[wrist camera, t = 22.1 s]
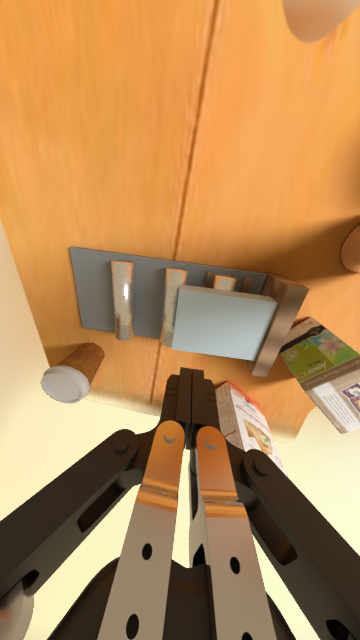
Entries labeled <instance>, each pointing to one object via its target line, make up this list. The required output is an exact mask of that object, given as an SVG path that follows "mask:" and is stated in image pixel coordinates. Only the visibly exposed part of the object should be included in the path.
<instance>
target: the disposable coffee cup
mask: <svg viewBox="0 0 360 640" xmlns="http://www.w3.org/2000/svg"><path fill="white" fill-rule="evenodd" d="M103 358H104V352H103V350H102V349H101V348H100V347H99V346H98V345H96V344H93V343H86V344H83V345H82V346H81V347H80V348H78V349H77V350H76V351H74V352H73V353H72V354H70V355H69V356H68V357H66V358H65V359H64V360H62V361H61V362H60V363H58V364H57V365H56V366H54V367H51V368H49V369H48V370H47V371H45V373H44V376H43V378H42V380H41V386H42V388H43V390H44V391H45V392H46V394H47V395H49V396H50V397H51V398H53V399H55V400H57V401H60V402H63V403H76V402H78V401H80V400H81V399H82V398H84V397H86V396H87V394H88V392H89V388H90V384H91V382H92V380H93V378H94V376H95V374H96V372H97V370H98V368H99V366H100V364H101V362H102V360H103Z"/></svg>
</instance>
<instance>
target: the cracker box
mask: <svg viewBox="0 0 360 640" xmlns="http://www.w3.org/2000/svg"><path fill="white" fill-rule="evenodd" d="M215 392H216V400H217V407H218V415H219V423H220V429H221V432H222V434H223V435H224V437H225V438H226V439H227V440H228V441H229V442H230V443H231V444H233V445H234V446H236V447H238V448H240V449H242V450H244V451H246V452H247V451H248V450H250V449H258V450H260V451H262V452H264V453H265V454H267V455H268V456H269V457H270V459H271V460H272V461H273V462H274V463H275V464H276V465H277V466H278V467H279V468H280V469H281V471H282V472H283V473H284V474H285V475H286V476H287V473H286V471H285V468H284V466H283V463H282V461H281V458H280V455H279V453H278V450H277V448H276V445H275V443H274V440H273V438H272V435H271V432H270V430H269V427H268V425H267V422H266V420H265V417H264V415H263V412H262V410H261V407H260V405H259V404H257V403H256V402H255V401H253V400H252V399H251V398H249V397H248V396H247V395H246V394H244V393H243V392H242V391H240V390H239V389H238V388H237V387H235V386H234V385H233V384H231V383H230V382H229V381H227V382H225V383H224V384H222V385H221V386H219V387H218V388H216V389H215ZM287 477H288V476H287Z"/></svg>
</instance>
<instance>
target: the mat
mask: <svg viewBox="0 0 360 640" xmlns="http://www.w3.org/2000/svg"><path fill="white" fill-rule="evenodd" d="M69 248H70V254H71V260H72V266H73V272H74V279H75V285H76V291H77V297H78V303H79V309H80V316H81V322H82V328H86V329H93V330H100V331H107V332H114V333H115V317H114V301H113V284H112V268H111V261H112V260H128V261H132V262H134V335H136V336H143V337H150V338H157V339H160V337H161V325H162V312H163V300H164V288H165V276H166V268H167V267H179V268H184V269H187V270H188V274H187V281H186V285H190V286H197V287H205V282H206V277H207V271H208V272H215V273H216V274H227V275H232V276H234V277H236V278H237V281H236V284H235V288H234V292H239V290H240V287H241V284H242V280H243V277H244V276H245V277H251V278H253V280H252V283H251V286H250V290H249V293H248V294H255V295H260V294H261V291H262V288H263V285H264V282H265V279H266V277H267V274H266V273H262V272H254V271H247V270H240V269H233V268H225V267H218V266H211V265H203V264H196V263H189V262H181V261H174V260H167V259H160V258H152V257H145V256H138V255H130V254H123V253H116V252H109V251H101V250H94V249H87V248H79V247H69Z"/></svg>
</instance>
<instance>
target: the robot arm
mask: <svg viewBox="0 0 360 640" xmlns="http://www.w3.org/2000/svg"><path fill="white" fill-rule="evenodd" d="M341 261H342V263H343V265H344V266H345V267H346V268H347V269H348V270H350V271H353V272H357V273H360V225H358V226H357V227H356V228H355V229H354V230H353V231H352V232H351V233H350V234H349V236H348V237H347V238H346V240H345V242H344V244H343V247H342V250H341ZM185 444H186V449H188V450H190V461H189V466H188V471H189V501H190V530H189V562H190V563H189V564H190V568H185V567H183V566H182V565H180V564H178V563H177V562H175V561H174V560H172V550H173V541H174V532H175V524H176V515H177V506H178V490H179V481H180V473H181V464H182V455H183V450H184V448H185ZM139 484H141V486H140V488H139V491H138V494H137V497H136V501H135V504H134V508H133V512H132V515H131V519H130V522H129V526H128V530H127V533H126V537H125V541H124V544H123V548H122V552H121V555H120V557H118V558H116V559H114V560H113V561H111V562H110V563H108V564H107V565H106V566H105V567H104V568H102V569H101V570H100V571H99V573H97V574H96V576H95V577H94V578H93V579H92V580H91V581H90V583H89V584H88V585H87V586H86V588H85V589H84V590H83V592H82V593H81V594H80V596H79V597H78V598H77V600H76V601H75V602H74V604H73V605H72V606H71V608H70V609H69V611H68V612H67V613H66V615H65V616H64V617H63V619H62V620H61V621H60V623H59V624H58V625H57V627H56V628H55V630H54V631H53V632H52V634H51V635H50V636H49V638H48V639H47V640H296V639H295V637H294V635H293V633H292V632H291V630H290V628H289V627H288V624H287V623H286V621H285V619H284V618H283V616H282V614H281V612H280V611H279V609H278V608H277V606H276V605H275V603H274V602H273V600H272V599H271V597H270V596H269V595H268V594H267V592H266V591H265V587H264V583H263V579H262V575H261V570H260V566H259V562H258V558H257V553H256V549H255V545H254V541H253V536H254V537H255V539H256V540H257V542H258V543H259V545H260V546H261V548H262V550H263V551H264V553H265V554H266V556H267V557H268V559H269V560H270V562H271V563H272V565H273V566H274V568H275V570H276V571H277V573H278V574H279V576H280V577H281V579H282V581H283V582H284V584H285V585H286V587H287V588H288V590H289V591H290V593H291V595H292V596H293V598H294V599H295V601H296V602H297V604H298V605H299V607H300V609H301V610H302V612H303V613H304V615H305V616H306V618H307V619H308V621H309V623H310V624H311V626H312V627H313V629H314V630H315V632H316V633H317V635H318V637H319V638H320V640H360V556H359V555H358V554H357V553H356V552H355V551H354V550H353V548H352V547H351V546H350V545H349V544H348V543H347V542H346V541H345V540H344V539H343V538H342V537H341V535H340V534H339V533H338V532H337V531H336V530H335V529H334V528H333V527H332V525H331V524H330V523H329V522H328V521H327V520H326V519H325V518H324V517H323V516H322V514H321V513H320V512H319V511H318V510H317V509H316V508H315V507H314V506H313V505H312V503H311V502H310V501H309V500H308V499H307V498H306V497H305V496H304V495H303V494H302V492H301V491H300V490H299V489H298V488H297V487H296V486H295V485H294V484H293V483H292V482H291V480H289V478H288V477H287V476H286V475H285V474H284V473H283V472H282V471H281V469H280V468H279V467H278V466H277V465H276V464H275V463H274V462H273V461H272V460H271V459H270V457H269V456H268V455H267V454H265V453H264V452H262V451H260V450H258V449H250V450H248V451H247V452H246V451H244V450H242V449H240V448H238V447H236V446H234V445H233V444H231V443H230V442H229V441H228V440H227V439H226V438H225V437H224V435H223V434H222V432H221V429H220V423H219V415H218V407H217V400H216V392H215V386H214V384H213V383H212V381H211V380H209V379H204V371H203V370H197V369H190V368H183V367H181V368H180V375H173V374H172V375H171V376H170V377H169V379H168V380H167V385H166V390H165V396H164V401H163V407H162V412H161V417H160V421H159V423H158V425H157V426H156V427H155V428H154V429H153V430H151V431H149V432H146V433H142V434H135V433H134V432H132V431H131V430H128V429H122V430H119V431H116V432H115V433H114V434H112V435H111V436H109V437H108V438H107V439H106V440H104V441H103V442H102V443H101V444H99V445H98V446H97V447H95V448H94V449H93V450H91V451H90V452H89V453H88V454H86V455H85V456H84V457H82V458H81V459H80V460H79V461H77V462H76V463H75V464H74V465H72V466H71V467H70V468H68V469H67V470H66V471H65V472H63V473H62V474H61V475H59V476H58V477H57V478H55V479H54V480H53V481H52V482H50V483H49V484H48V485H46V486H45V487H44V488H43V489H41V490H40V491H39V492H37V493H36V494H35V495H34V496H32V497H31V498H30V499H29V500H27V501H26V502H25V503H24V504H22V505H21V506H19V507H18V508H17V509H16V510H14V511H13V512H12V513H11V514H9V515H8V516H7V517H6V518H4V519H3V520H1V521H0V640H23V639H24V637H25V634H26V632H27V630H28V627H29V624H30V621H31V617H32V613H33V607H34V596H33V595H34V594H35V593H36V592H37V591H38V590H39V589H40V587H41V586H42V585H43V584H44V583H45V582H46V581H47V580H48V579H49V578H50V577H51V575H52V574H53V573H54V572H55V571H56V570H57V569H58V568H59V567H60V566H61V564H62V563H63V562H64V561H65V560H66V559H67V558H68V557H69V556H70V555H71V554H72V552H73V551H74V550H75V549H76V548H77V547H78V546H79V545H80V544H81V542H83V540H84V539H85V538H86V537H87V536H88V535H89V534H90V533H91V532H92V531H93V529H94V528H95V527H96V526H97V525H98V524H99V523H100V522H101V521H102V520H103V519H104V517H105V516H106V515H107V514H108V513H109V512H110V511H111V509H113V508H114V506H115V505H116V504H117V503H118V502H119V501H120V500H121V499H122V498H123V497H124V495H125V494H126V493H127V492H128V491H129V490H130V489H131V488H132V487H133V486H135V485H139ZM252 534H253V536H252Z"/></svg>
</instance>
